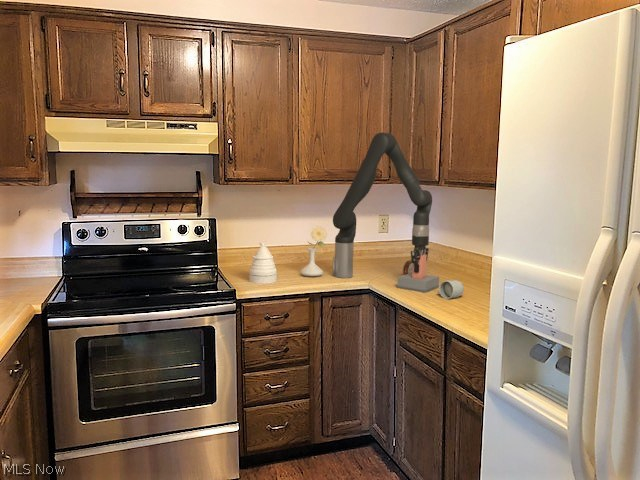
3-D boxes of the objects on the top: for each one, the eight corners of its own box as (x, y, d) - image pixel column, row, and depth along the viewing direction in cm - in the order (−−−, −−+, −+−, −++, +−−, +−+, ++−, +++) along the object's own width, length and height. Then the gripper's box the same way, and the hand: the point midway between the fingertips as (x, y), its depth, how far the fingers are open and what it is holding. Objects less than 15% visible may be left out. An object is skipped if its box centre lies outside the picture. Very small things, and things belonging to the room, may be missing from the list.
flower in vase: (297, 277, 263) (298, 226, 260) (303, 272, 274) (304, 224, 271) (323, 278, 260) (324, 227, 257) (328, 274, 271) (329, 225, 268)
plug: (412, 278, 244) (413, 248, 242) (416, 277, 248) (417, 247, 246) (421, 280, 242) (422, 249, 240) (425, 278, 245) (426, 248, 243)
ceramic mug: (464, 297, 228) (465, 280, 227) (452, 300, 223) (453, 282, 222) (444, 293, 236) (445, 276, 235) (432, 295, 231) (433, 278, 230)
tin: (417, 273, 278) (417, 257, 277) (422, 274, 276) (423, 258, 275) (402, 278, 266) (402, 261, 265) (407, 279, 264) (408, 262, 263)
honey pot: (246, 278, 258) (246, 241, 255) (272, 277, 262) (272, 240, 260) (253, 284, 246) (253, 245, 243) (280, 282, 250) (280, 244, 248)
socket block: (397, 287, 244) (397, 277, 243) (411, 282, 255) (411, 272, 254) (425, 292, 236) (426, 281, 235) (438, 287, 247) (439, 276, 246)
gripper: (420, 232, 250) (418, 268, 252) (405, 235, 239) (404, 272, 241) (434, 233, 246) (433, 270, 248) (421, 236, 234) (419, 275, 237)
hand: (419, 271), depth 244 cm, fingers closed on plug, 4 cm apart
